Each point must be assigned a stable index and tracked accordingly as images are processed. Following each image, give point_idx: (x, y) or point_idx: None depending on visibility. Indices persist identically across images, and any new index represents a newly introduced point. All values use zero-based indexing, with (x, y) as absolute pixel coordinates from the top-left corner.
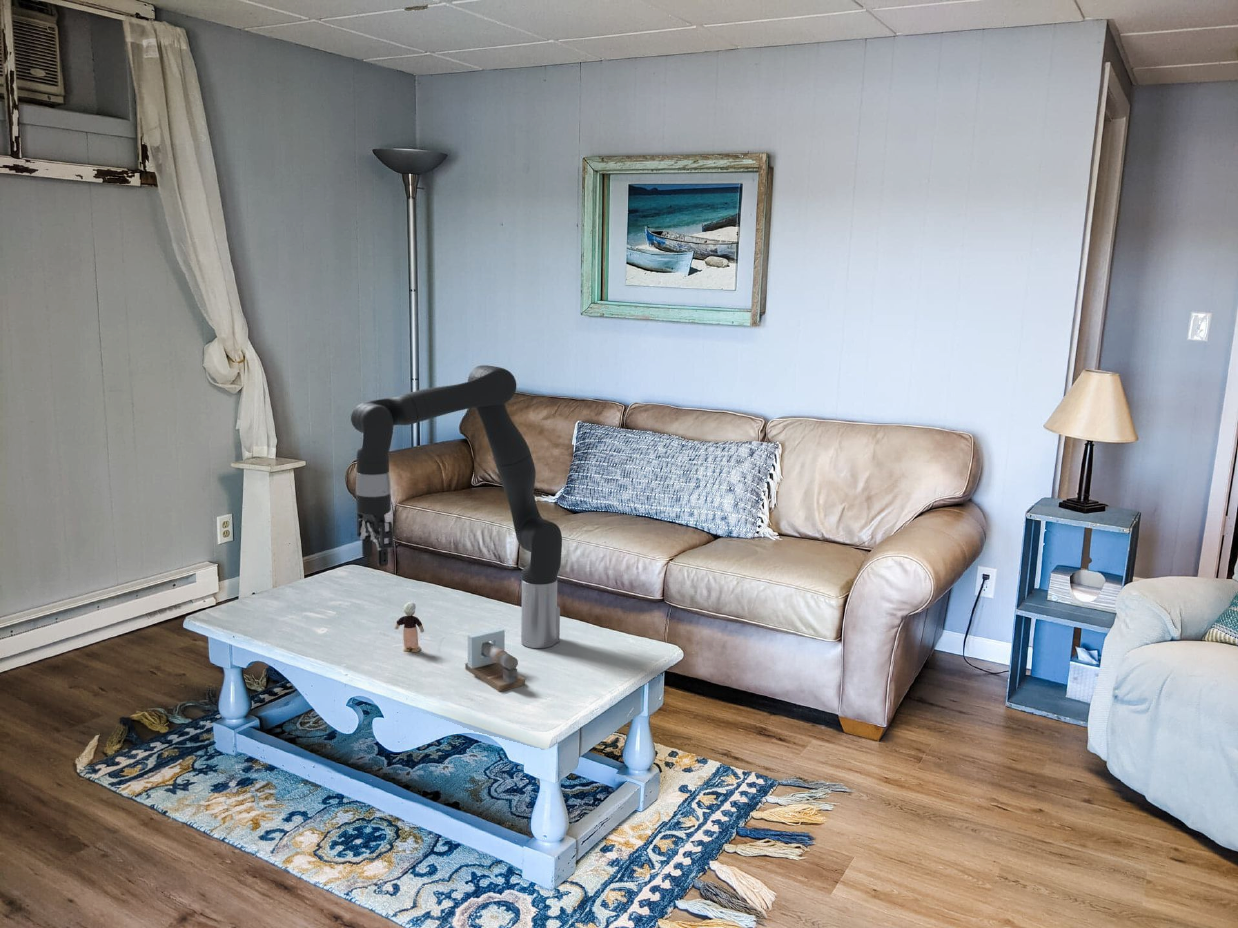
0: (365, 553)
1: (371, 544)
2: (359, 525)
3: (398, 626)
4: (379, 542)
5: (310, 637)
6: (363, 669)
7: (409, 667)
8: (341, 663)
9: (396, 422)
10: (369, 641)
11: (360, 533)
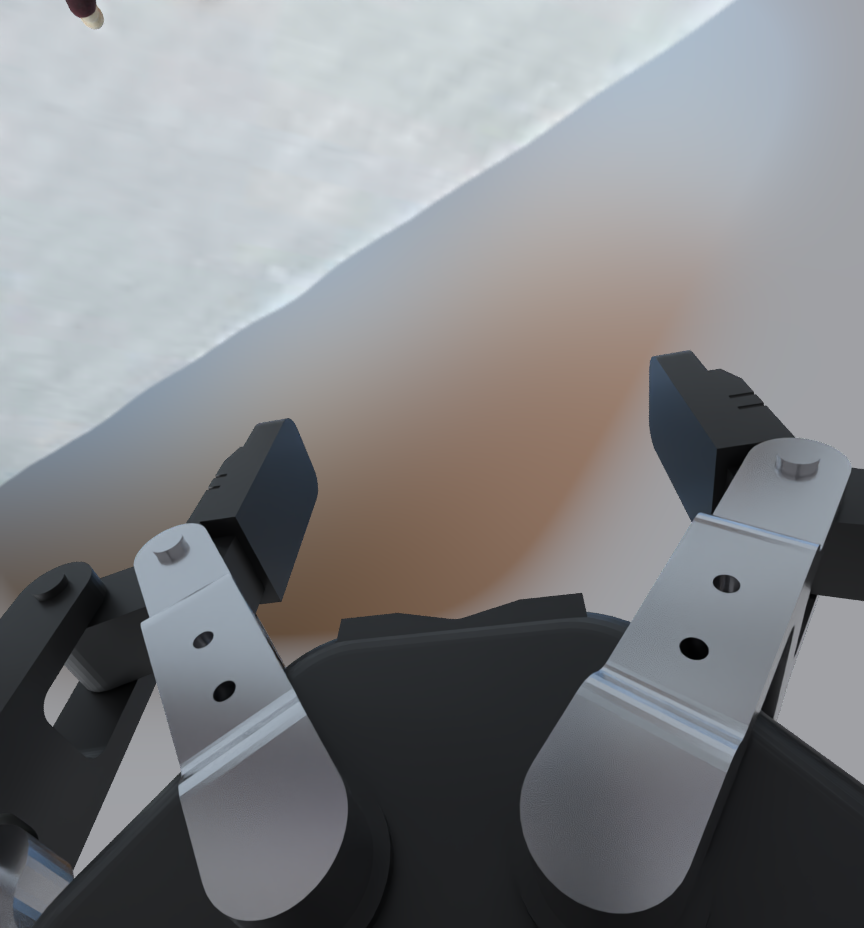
0: (305, 494)
1: (252, 495)
2: (98, 806)
3: (97, 7)
4: (802, 625)
5: (12, 332)
6: (336, 218)
7: (369, 21)
8: (264, 279)
9: None
10: (49, 132)
11: (144, 678)
